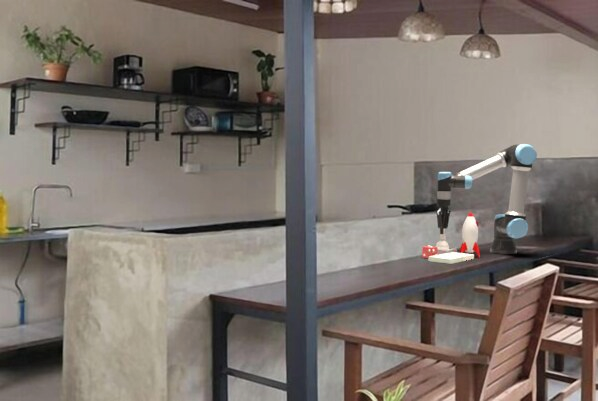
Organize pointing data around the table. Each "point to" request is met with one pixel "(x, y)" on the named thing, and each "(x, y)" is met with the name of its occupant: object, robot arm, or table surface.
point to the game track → (451, 257)
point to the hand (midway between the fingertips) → (442, 239)
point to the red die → (428, 251)
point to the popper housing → (446, 251)
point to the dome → (442, 245)
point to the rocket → (470, 235)
